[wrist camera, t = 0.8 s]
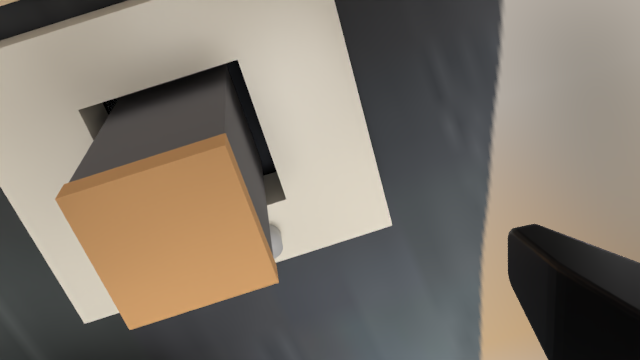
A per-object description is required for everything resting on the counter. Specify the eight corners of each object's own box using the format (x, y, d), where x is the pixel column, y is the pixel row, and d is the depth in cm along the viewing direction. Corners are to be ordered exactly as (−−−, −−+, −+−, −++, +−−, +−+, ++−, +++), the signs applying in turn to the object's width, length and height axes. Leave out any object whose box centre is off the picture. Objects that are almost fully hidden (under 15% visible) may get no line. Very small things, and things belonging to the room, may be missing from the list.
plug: (162, 193, 22) (129, 330, 15) (116, 96, 20) (54, 198, 13) (262, 161, 22) (278, 282, 15) (226, 62, 20) (225, 144, 13)
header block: (98, 283, 23) (79, 338, 20) (-35, 51, 19) (-85, 77, 16) (376, 195, 23) (398, 236, 20) (309, -57, 19) (324, -51, 16)
